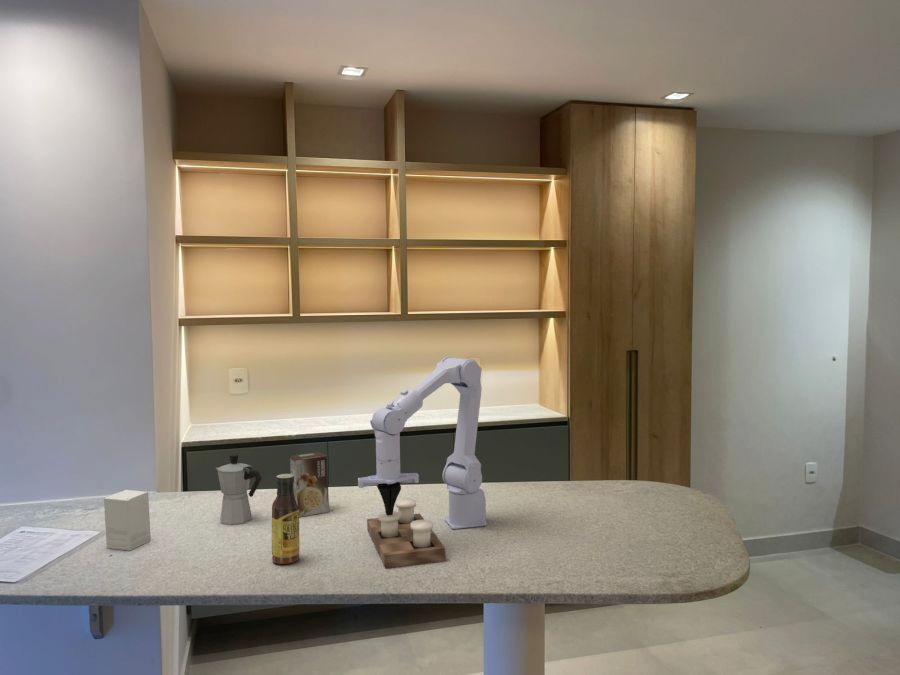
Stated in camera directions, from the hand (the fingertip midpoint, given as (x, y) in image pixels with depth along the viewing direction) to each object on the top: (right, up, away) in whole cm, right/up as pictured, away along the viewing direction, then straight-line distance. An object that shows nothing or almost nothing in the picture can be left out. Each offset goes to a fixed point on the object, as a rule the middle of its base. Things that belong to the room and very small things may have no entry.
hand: (389, 513), depth 166 cm
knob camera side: (+8, -6, -6) cm, 12 cm away
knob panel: (+3, -8, +2) cm, 9 cm away
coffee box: (-25, -7, +27) cm, 37 cm away
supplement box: (-65, -9, +4) cm, 66 cm away
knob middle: (0, -6, 0) cm, 6 cm away
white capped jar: (+4, -5, +10) cm, 12 cm away
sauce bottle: (-23, -9, -7) cm, 26 cm away
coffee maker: (-43, -7, +21) cm, 48 cm away
